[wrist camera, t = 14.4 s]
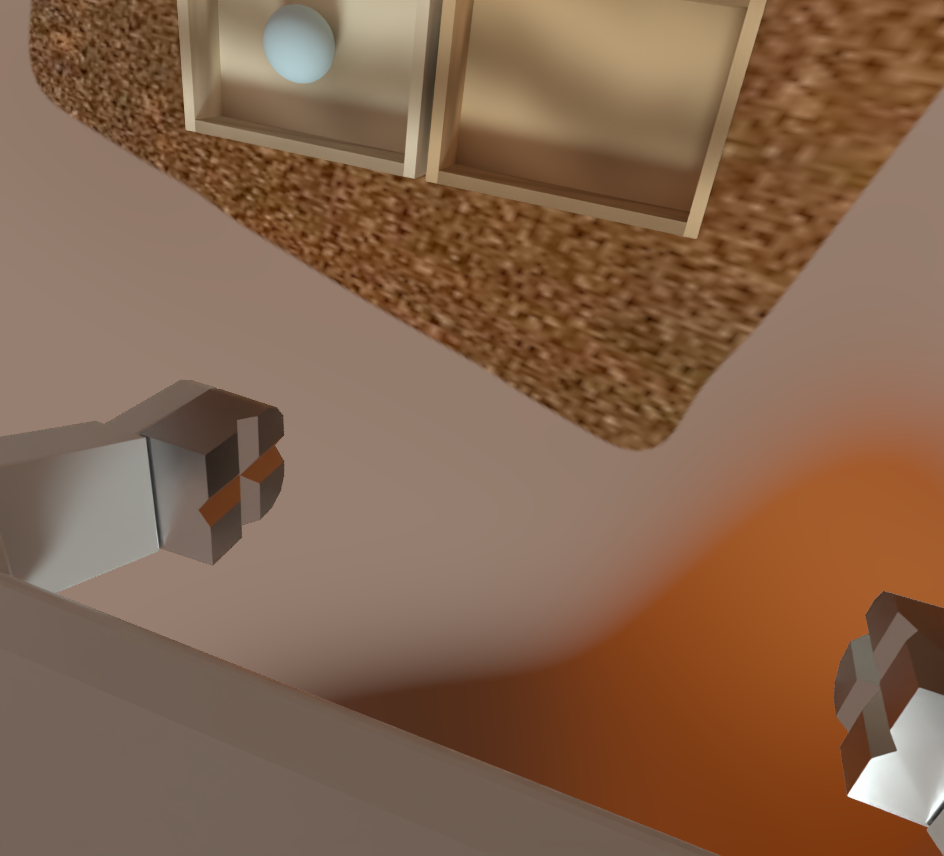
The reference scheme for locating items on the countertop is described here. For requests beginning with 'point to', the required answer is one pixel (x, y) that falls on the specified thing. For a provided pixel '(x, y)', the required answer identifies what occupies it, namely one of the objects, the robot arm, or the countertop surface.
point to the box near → (590, 103)
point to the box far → (317, 81)
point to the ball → (299, 43)
